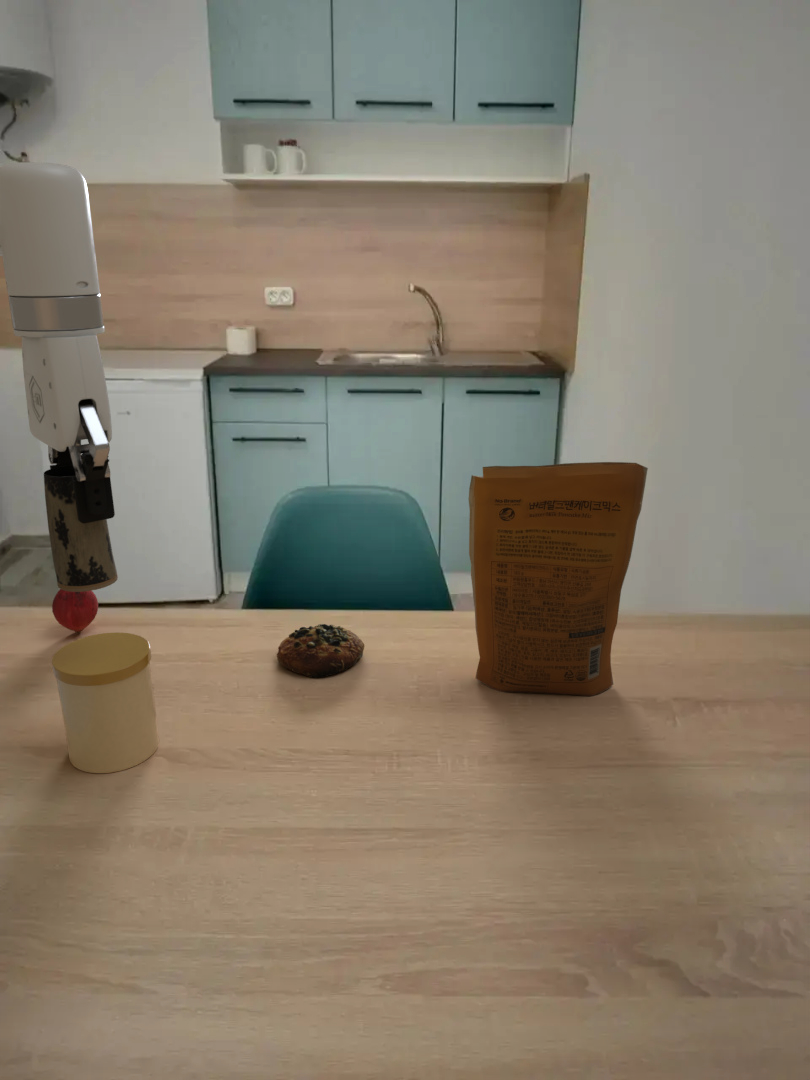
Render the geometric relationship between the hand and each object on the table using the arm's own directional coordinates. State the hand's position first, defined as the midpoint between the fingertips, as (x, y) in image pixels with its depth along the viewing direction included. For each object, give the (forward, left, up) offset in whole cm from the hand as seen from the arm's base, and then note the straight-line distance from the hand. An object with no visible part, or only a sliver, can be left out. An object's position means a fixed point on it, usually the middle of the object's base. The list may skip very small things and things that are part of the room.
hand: (84, 509), depth 79 cm
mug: (0, 0, -7) cm, 7 cm away
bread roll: (-3, +28, -26) cm, 38 cm away
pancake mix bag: (+20, +45, -26) cm, 55 cm away
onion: (-30, +6, -26) cm, 41 cm away
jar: (+1, 0, -26) cm, 26 cm away
